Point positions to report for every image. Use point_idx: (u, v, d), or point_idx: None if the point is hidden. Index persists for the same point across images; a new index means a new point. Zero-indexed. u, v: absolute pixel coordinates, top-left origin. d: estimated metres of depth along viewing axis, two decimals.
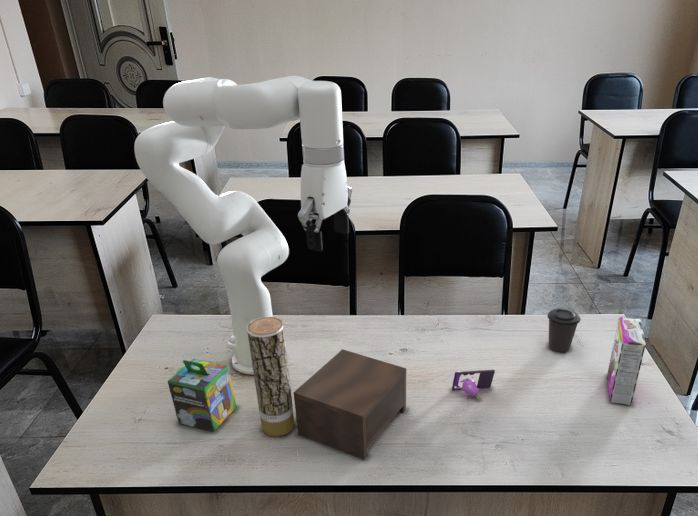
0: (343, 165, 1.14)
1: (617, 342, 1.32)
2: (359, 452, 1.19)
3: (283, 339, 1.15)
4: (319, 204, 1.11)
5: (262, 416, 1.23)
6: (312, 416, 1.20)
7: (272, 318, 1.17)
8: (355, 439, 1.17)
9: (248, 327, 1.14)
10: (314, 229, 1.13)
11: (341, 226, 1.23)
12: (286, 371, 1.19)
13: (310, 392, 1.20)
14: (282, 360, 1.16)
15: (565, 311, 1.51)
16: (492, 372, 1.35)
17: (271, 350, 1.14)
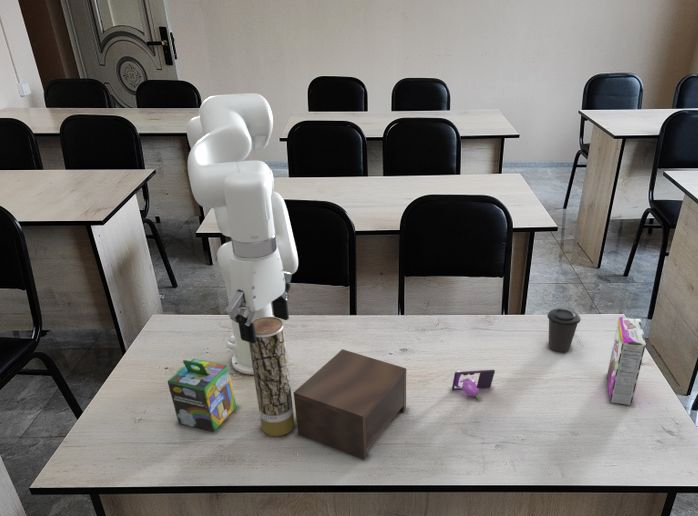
0: (277, 254, 1.09)
1: (617, 342, 1.32)
2: (359, 452, 1.19)
3: (283, 339, 1.15)
4: (249, 298, 1.05)
5: (262, 416, 1.23)
6: (312, 416, 1.20)
7: (272, 318, 1.17)
8: (355, 439, 1.17)
9: None
10: (245, 322, 1.07)
11: (280, 312, 1.17)
12: (286, 371, 1.19)
13: (310, 392, 1.20)
14: (282, 360, 1.16)
15: (565, 311, 1.51)
16: (492, 372, 1.35)
17: (271, 350, 1.14)
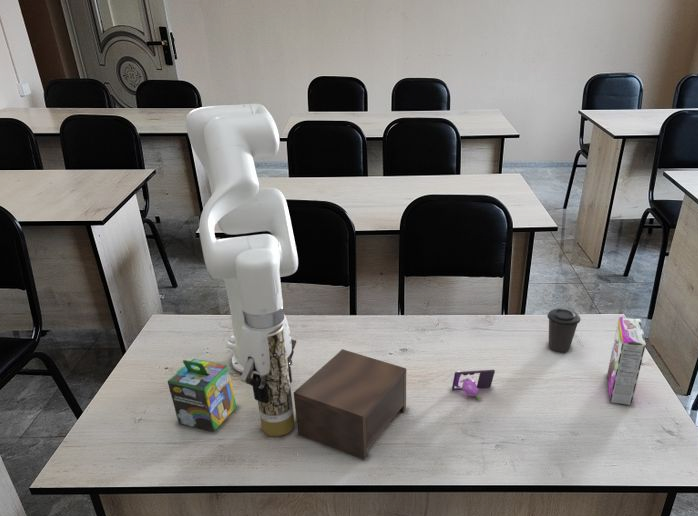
0: (285, 321, 1.16)
1: (617, 342, 1.32)
2: (359, 452, 1.19)
3: (283, 339, 1.15)
4: (259, 364, 1.13)
5: (262, 416, 1.23)
6: (312, 416, 1.20)
7: None
8: (355, 439, 1.17)
9: None
10: (259, 386, 1.16)
11: None
12: (286, 371, 1.19)
13: (310, 392, 1.20)
14: (282, 360, 1.16)
15: (565, 311, 1.51)
16: (492, 372, 1.35)
17: (271, 350, 1.14)
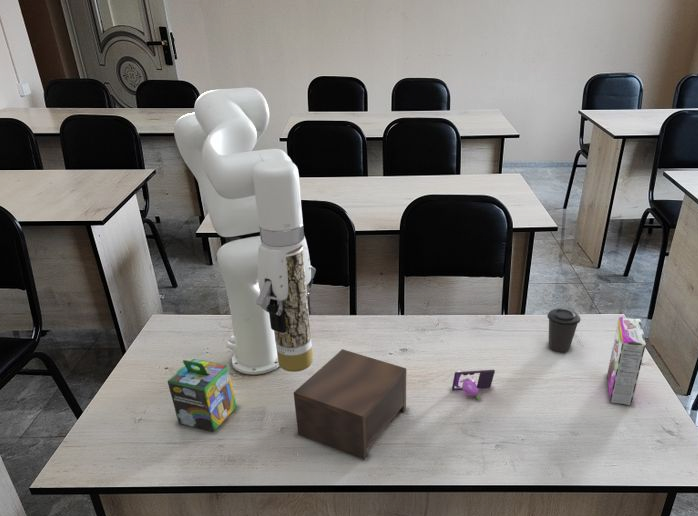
0: (304, 243, 1.08)
1: (617, 342, 1.32)
2: (359, 452, 1.19)
3: (302, 262, 1.08)
4: (276, 286, 1.05)
5: (279, 349, 1.15)
6: (312, 416, 1.20)
7: None
8: (355, 439, 1.17)
9: None
10: (276, 312, 1.08)
11: None
12: (305, 299, 1.11)
13: (310, 392, 1.20)
14: (301, 285, 1.09)
15: (565, 311, 1.51)
16: (492, 372, 1.35)
17: (290, 273, 1.06)
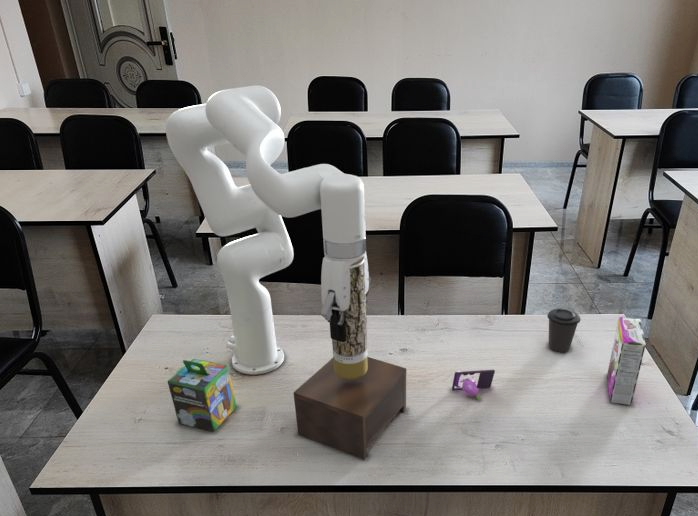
0: (365, 255, 1.11)
1: (617, 342, 1.32)
2: (359, 452, 1.19)
3: (364, 273, 1.10)
4: (340, 297, 1.08)
5: (337, 357, 1.18)
6: (312, 416, 1.20)
7: None
8: (355, 439, 1.17)
9: None
10: (338, 322, 1.11)
11: None
12: (364, 308, 1.14)
13: (310, 392, 1.20)
14: (362, 295, 1.11)
15: (565, 311, 1.51)
16: (492, 372, 1.35)
17: (353, 284, 1.09)
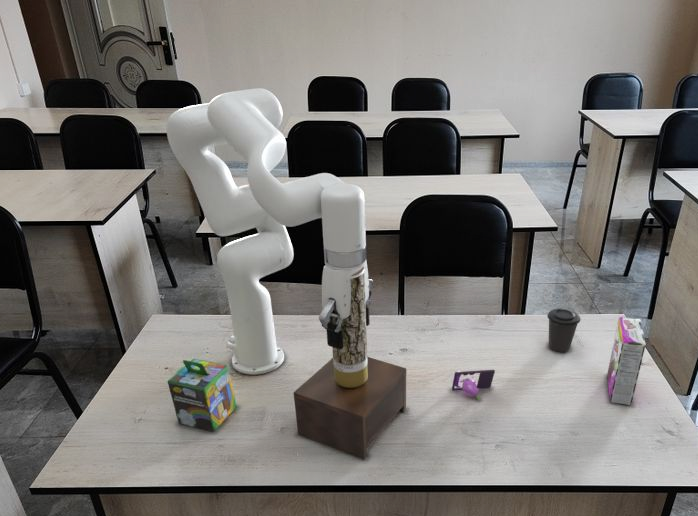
0: None
1: (617, 342, 1.32)
2: (359, 452, 1.19)
3: (364, 283, 1.11)
4: (340, 305, 1.09)
5: (337, 366, 1.19)
6: (312, 416, 1.20)
7: None
8: (355, 439, 1.17)
9: None
10: (335, 329, 1.10)
11: None
12: (364, 318, 1.15)
13: (310, 392, 1.20)
14: (362, 305, 1.13)
15: (565, 311, 1.51)
16: (492, 372, 1.35)
17: (353, 294, 1.10)
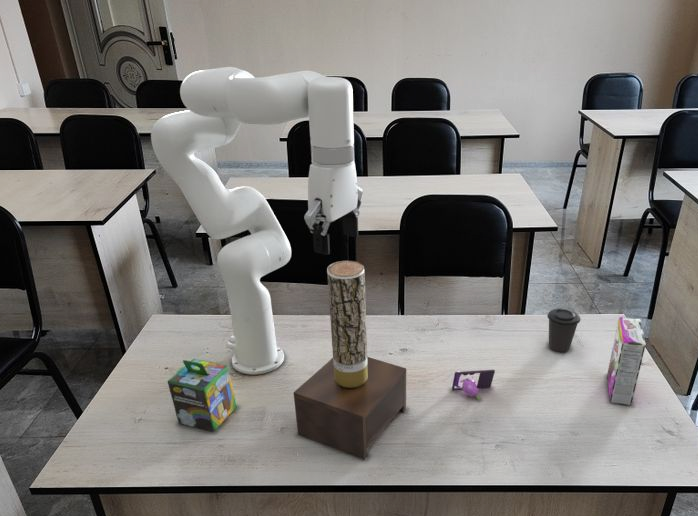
0: (353, 166, 1.09)
1: (617, 342, 1.32)
2: (359, 452, 1.19)
3: (364, 283, 1.11)
4: (327, 206, 1.06)
5: (337, 366, 1.19)
6: (312, 416, 1.20)
7: (352, 262, 1.13)
8: (355, 439, 1.17)
9: (329, 270, 1.10)
10: (321, 232, 1.08)
11: (350, 229, 1.18)
12: (364, 318, 1.15)
13: (310, 392, 1.20)
14: (362, 305, 1.13)
15: (565, 311, 1.51)
16: (492, 372, 1.35)
17: (353, 294, 1.10)
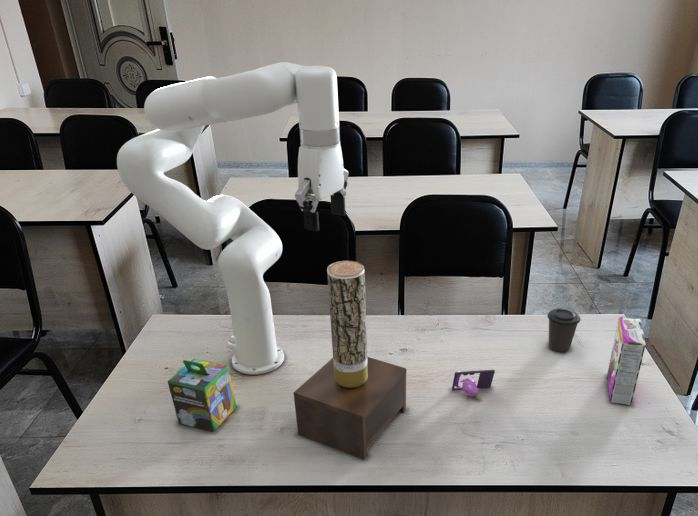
0: (339, 148, 1.18)
1: (617, 342, 1.32)
2: (359, 452, 1.19)
3: (364, 283, 1.11)
4: (315, 185, 1.15)
5: (337, 366, 1.19)
6: (312, 416, 1.20)
7: (352, 262, 1.13)
8: (355, 439, 1.17)
9: (329, 270, 1.10)
10: (310, 209, 1.17)
11: (338, 208, 1.27)
12: (364, 318, 1.15)
13: (310, 392, 1.20)
14: (362, 305, 1.13)
15: (565, 311, 1.51)
16: (492, 372, 1.35)
17: (353, 294, 1.10)
